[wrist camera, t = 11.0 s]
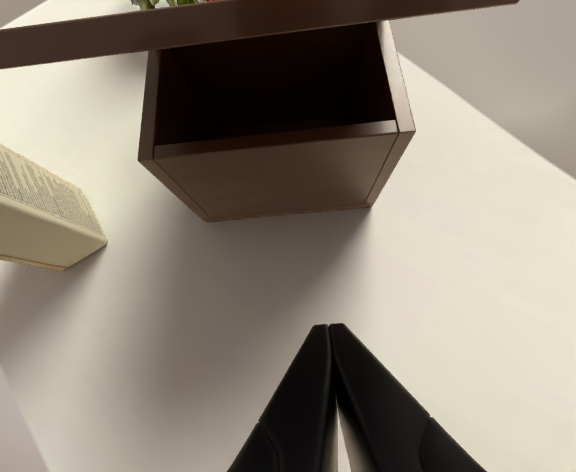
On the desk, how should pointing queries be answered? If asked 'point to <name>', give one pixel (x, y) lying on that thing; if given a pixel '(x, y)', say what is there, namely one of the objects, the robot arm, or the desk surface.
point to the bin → (277, 121)
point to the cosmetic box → (43, 216)
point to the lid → (204, 25)
